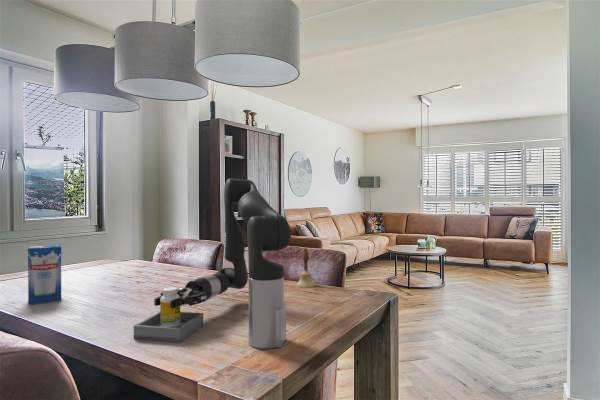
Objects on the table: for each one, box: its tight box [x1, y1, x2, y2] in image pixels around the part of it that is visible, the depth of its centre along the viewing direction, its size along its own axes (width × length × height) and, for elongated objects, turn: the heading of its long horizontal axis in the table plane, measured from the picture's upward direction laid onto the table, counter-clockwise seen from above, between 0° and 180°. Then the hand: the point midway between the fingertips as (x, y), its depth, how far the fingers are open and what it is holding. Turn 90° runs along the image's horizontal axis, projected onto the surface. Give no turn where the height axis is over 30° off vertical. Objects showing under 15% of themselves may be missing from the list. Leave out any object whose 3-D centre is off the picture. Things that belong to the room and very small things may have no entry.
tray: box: [133, 311, 204, 343], centre depth 104 cm, size 14×14×4 cm
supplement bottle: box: [159, 286, 181, 325], centre depth 104 cm, size 5×5×10 cm
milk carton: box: [27, 244, 62, 306], centre depth 134 cm, size 10×6×20 cm, turn 123°
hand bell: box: [296, 248, 316, 288], centre depth 158 cm, size 8×8×16 cm
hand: (163, 303), depth 101 cm, fingers closed on supplement bottle, 5 cm apart
